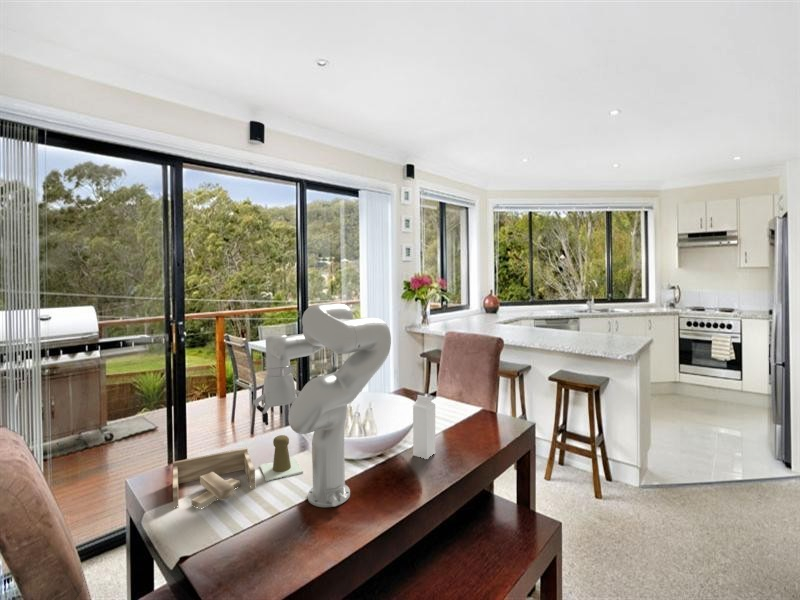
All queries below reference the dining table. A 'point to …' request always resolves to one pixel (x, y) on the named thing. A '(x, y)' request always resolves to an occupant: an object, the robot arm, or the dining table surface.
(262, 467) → the tile
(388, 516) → the dining table surface
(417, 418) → the milk
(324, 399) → the robot arm
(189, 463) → the rack
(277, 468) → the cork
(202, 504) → the offcut low
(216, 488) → the offcut top
